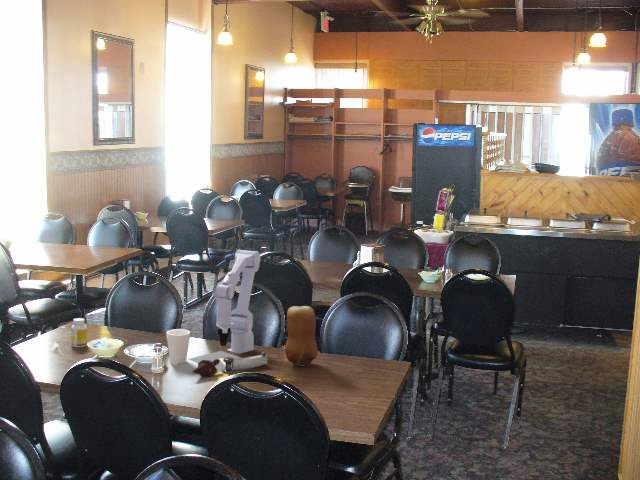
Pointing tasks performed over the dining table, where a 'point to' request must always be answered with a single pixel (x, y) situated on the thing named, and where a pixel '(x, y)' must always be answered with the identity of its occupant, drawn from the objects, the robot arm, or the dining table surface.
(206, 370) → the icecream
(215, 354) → the board
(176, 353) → the foam cup
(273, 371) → the dining table surface
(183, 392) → the dining table surface
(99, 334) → the dining table surface
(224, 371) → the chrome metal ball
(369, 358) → the dining table surface
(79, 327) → the pill bottle
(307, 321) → the butternut squash
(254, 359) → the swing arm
